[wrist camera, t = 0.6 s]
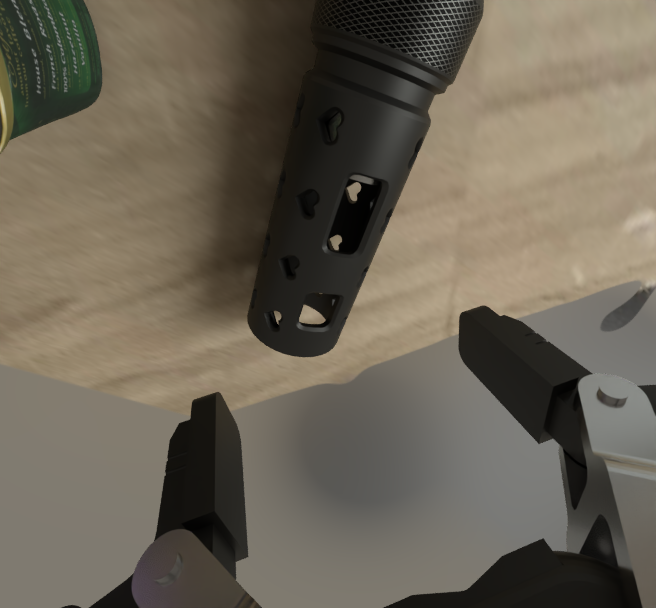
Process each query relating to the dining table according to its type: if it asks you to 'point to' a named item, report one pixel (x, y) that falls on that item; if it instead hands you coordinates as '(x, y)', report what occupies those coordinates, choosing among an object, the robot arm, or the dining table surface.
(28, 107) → the coffee jar
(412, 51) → the muzzle brake
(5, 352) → the dining table surface
